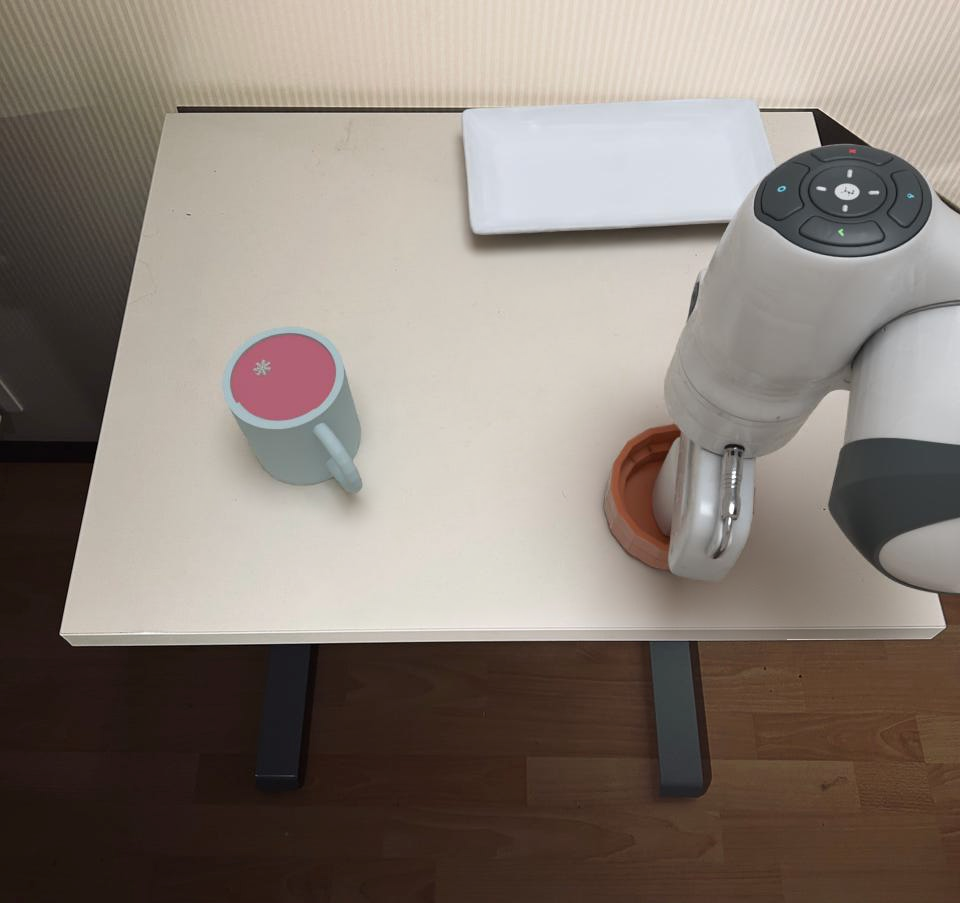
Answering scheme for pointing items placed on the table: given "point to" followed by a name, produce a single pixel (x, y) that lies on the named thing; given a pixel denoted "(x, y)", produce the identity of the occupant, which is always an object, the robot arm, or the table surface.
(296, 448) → the mug
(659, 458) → the bowl
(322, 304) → the table surface
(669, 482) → the eye dropper bottle
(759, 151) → the tray
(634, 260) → the table surface
